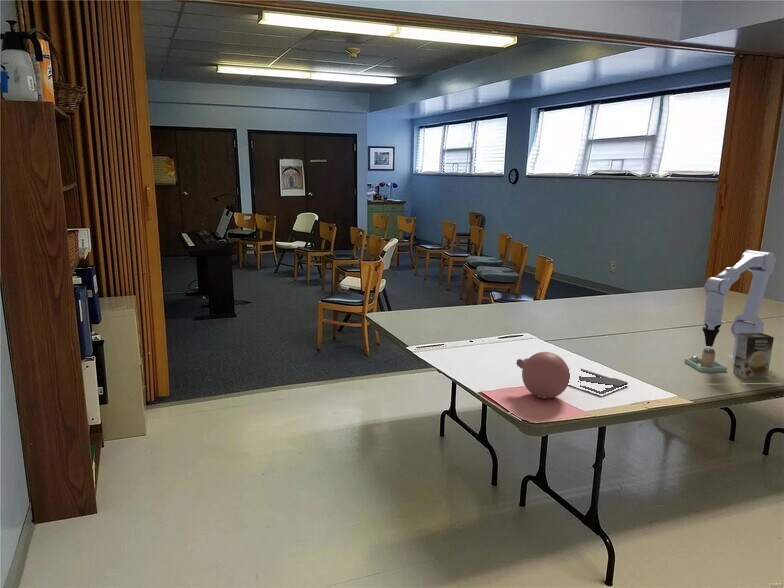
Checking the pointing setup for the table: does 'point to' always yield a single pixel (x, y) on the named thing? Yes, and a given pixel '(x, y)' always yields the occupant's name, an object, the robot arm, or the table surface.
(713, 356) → the shaker
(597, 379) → the picture frame
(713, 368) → the tray
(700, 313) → the table surface
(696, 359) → the ball
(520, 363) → the balloon
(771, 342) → the coffee box
